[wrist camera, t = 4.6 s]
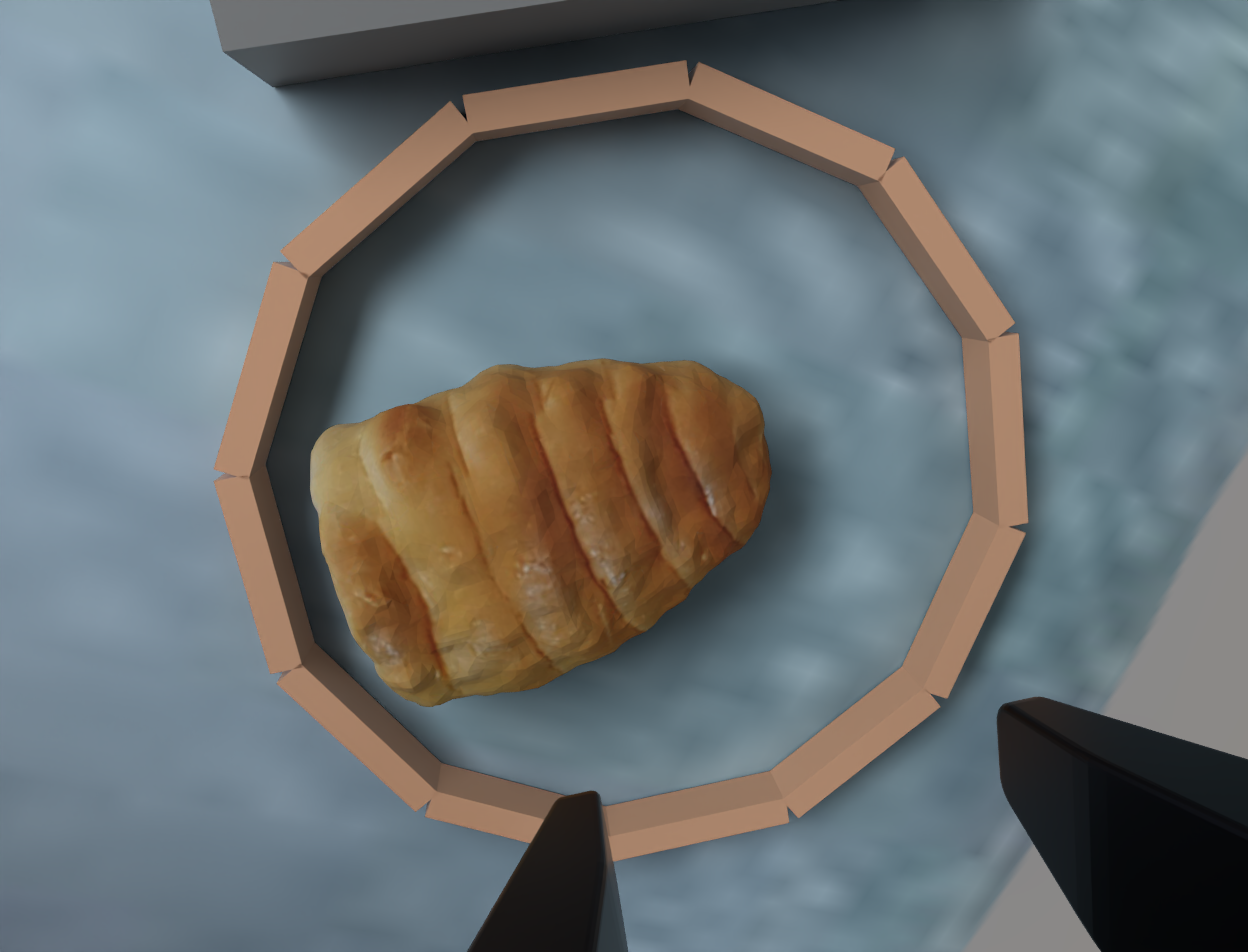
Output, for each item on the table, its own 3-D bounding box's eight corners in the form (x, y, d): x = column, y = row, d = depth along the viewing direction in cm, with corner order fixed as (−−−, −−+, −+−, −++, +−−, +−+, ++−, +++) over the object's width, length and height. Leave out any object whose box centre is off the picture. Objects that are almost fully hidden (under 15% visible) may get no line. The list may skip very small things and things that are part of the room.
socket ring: (1014, 742, 23) (1040, 767, 22) (352, 886, 22) (342, 920, 21) (972, 26, 19) (1002, 10, 18) (143, 156, 17) (116, 148, 16)
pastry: (702, 282, 19) (743, 277, 15) (796, 556, 21) (854, 613, 17) (299, 436, 19) (242, 470, 15) (423, 702, 20) (398, 792, 17)
